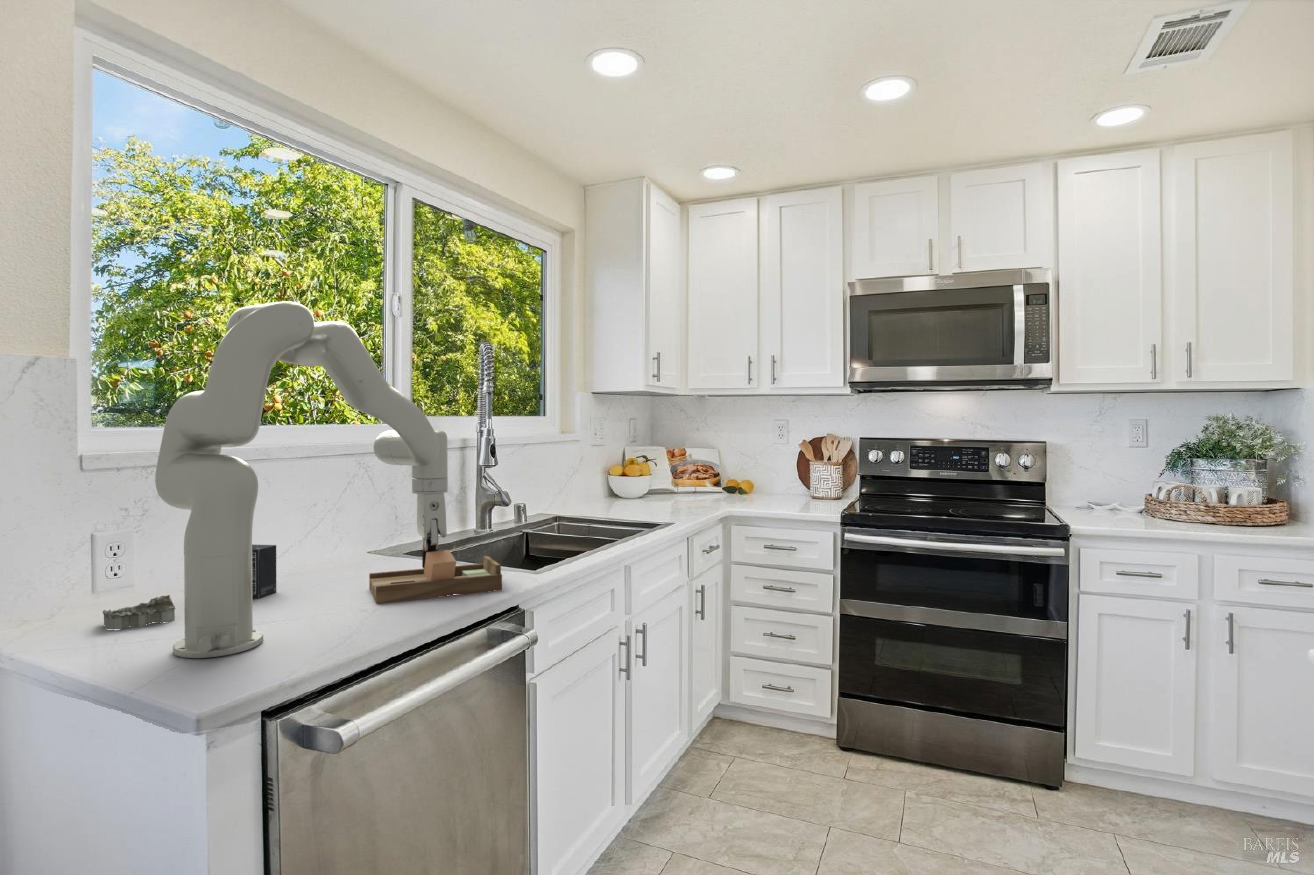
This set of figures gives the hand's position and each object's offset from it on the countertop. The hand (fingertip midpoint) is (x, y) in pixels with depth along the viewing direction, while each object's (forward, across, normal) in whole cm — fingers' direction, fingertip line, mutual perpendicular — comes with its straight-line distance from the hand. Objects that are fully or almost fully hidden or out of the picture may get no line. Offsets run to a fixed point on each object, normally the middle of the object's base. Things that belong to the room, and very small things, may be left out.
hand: (430, 568), depth 156 cm
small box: (+5, +12, +36) cm, 38 cm away
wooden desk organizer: (+5, -1, -1) cm, 5 cm away
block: (+1, -3, -1) cm, 4 cm away
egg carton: (+5, -3, +52) cm, 52 cm away
